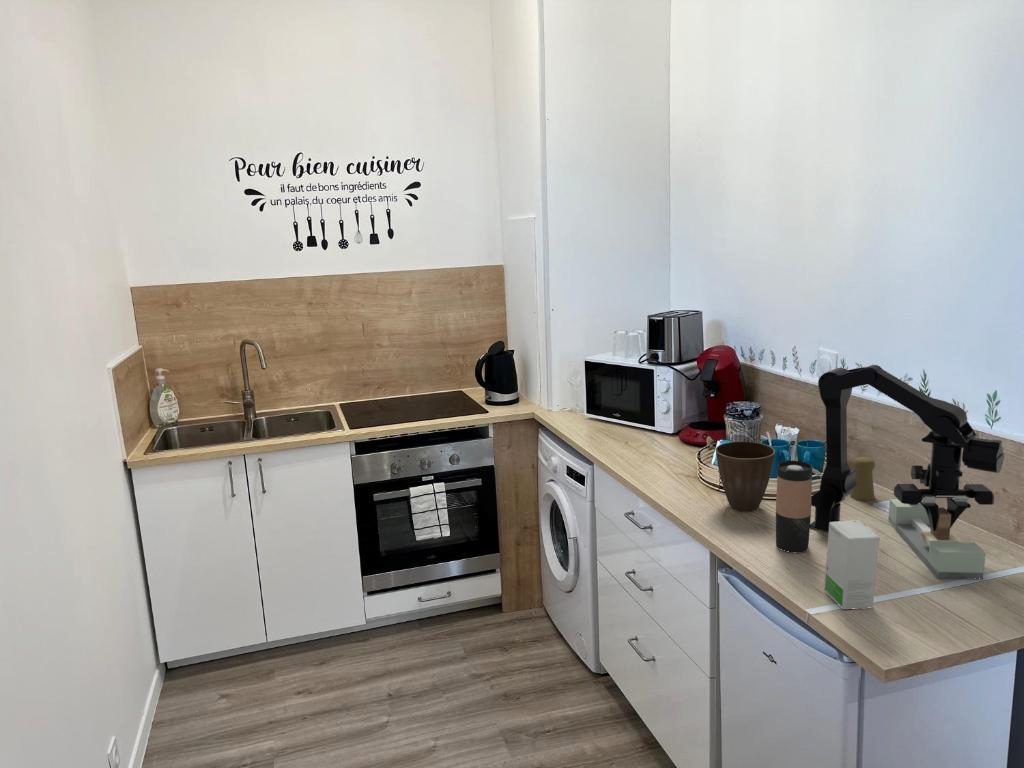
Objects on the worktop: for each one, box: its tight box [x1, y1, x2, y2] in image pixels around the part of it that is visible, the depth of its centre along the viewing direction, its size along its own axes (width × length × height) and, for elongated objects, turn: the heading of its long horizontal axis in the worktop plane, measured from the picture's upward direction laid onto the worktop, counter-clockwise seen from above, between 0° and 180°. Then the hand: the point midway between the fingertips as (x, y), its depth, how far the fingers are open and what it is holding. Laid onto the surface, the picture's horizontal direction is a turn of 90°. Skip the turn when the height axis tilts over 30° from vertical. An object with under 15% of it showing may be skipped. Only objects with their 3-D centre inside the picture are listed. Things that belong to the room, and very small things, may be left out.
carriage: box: [921, 506, 960, 546], centre depth 169 cm, size 5×6×8 cm
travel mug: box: [775, 460, 813, 553], centre depth 176 cm, size 8×8×20 cm
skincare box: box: [823, 519, 881, 609], centre depth 152 cm, size 8×7×16 cm
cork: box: [849, 456, 876, 502], centre depth 205 cm, size 6×6×11 cm
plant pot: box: [715, 441, 776, 513], centre depth 201 cm, size 15×15×16 cm
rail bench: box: [887, 498, 986, 580], centre depth 173 cm, size 30×9×6 cm, turn 172°
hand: (940, 530), depth 169 cm, fingers closed on carriage, 2 cm apart
